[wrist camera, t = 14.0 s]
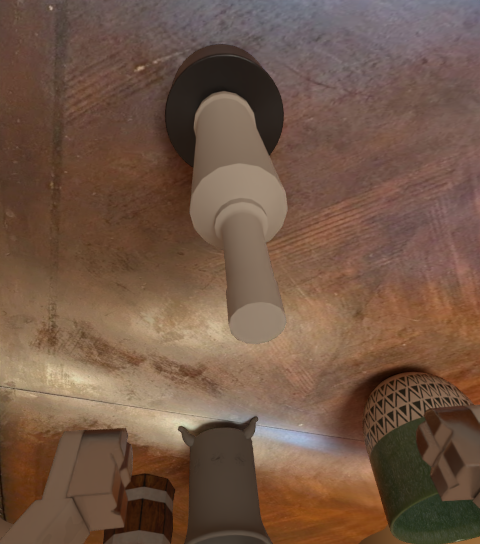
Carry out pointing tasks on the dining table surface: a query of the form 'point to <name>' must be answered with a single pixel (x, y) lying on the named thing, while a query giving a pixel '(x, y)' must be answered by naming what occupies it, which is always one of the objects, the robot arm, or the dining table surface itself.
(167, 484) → the mug
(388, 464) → the planter
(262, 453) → the dining table surface
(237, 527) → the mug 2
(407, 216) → the dining table surface
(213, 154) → the bottle
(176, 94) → the canister
